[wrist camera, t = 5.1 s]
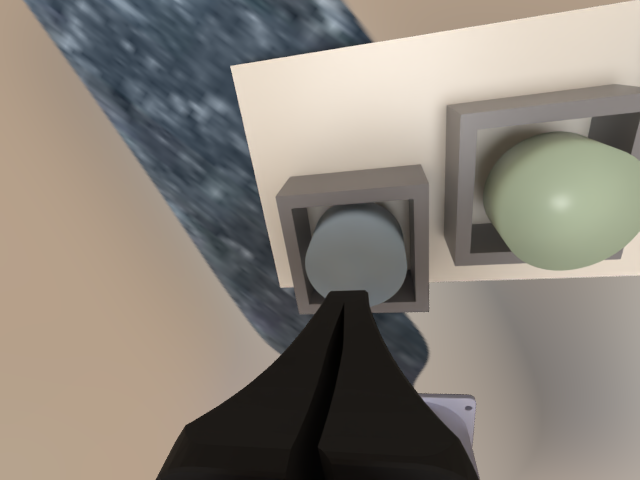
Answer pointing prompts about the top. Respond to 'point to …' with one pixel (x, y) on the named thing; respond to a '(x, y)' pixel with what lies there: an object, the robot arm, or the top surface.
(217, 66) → the top surface
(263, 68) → the panel
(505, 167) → the button green
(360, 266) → the button blue
